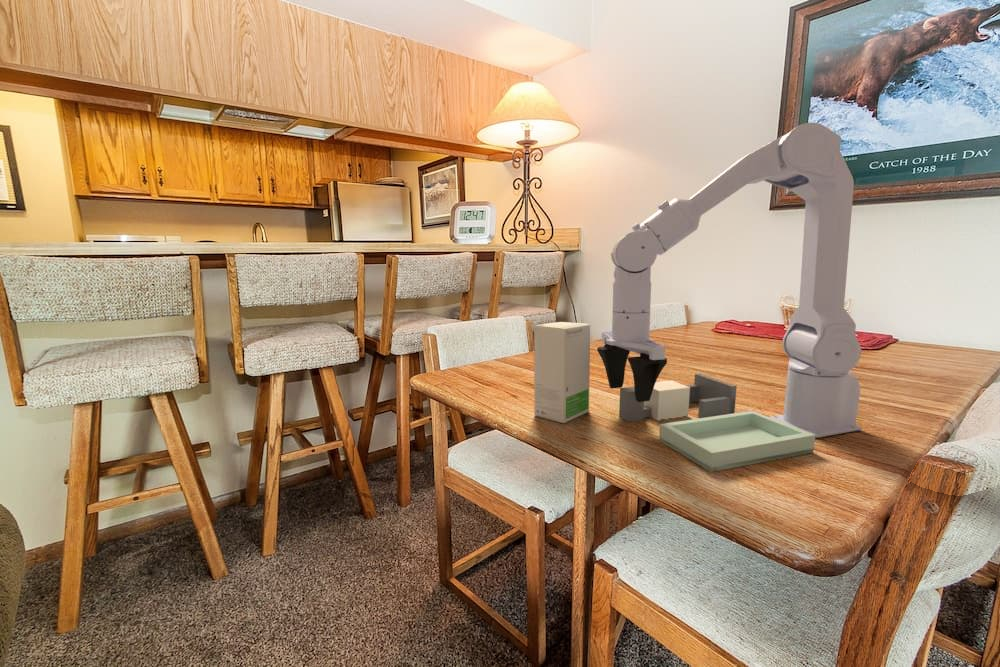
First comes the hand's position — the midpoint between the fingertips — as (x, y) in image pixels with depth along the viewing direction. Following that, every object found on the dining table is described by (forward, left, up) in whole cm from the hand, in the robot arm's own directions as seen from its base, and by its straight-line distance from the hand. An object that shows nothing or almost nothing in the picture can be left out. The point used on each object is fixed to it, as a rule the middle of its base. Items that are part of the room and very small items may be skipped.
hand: (628, 393), depth 71 cm
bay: (-15, 0, -4) cm, 15 cm away
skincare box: (+9, -6, -5) cm, 12 cm away
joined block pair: (-5, 0, -4) cm, 6 cm away
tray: (-8, +14, -4) cm, 17 cm away
